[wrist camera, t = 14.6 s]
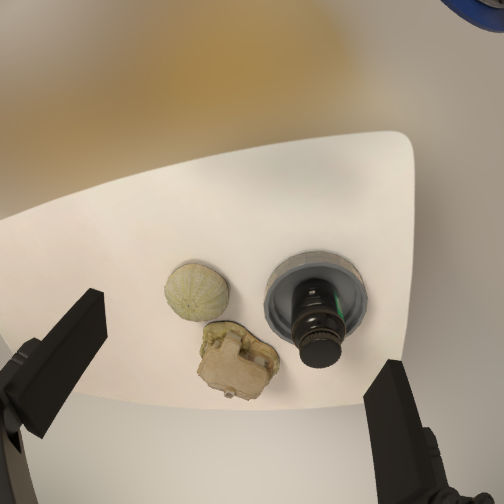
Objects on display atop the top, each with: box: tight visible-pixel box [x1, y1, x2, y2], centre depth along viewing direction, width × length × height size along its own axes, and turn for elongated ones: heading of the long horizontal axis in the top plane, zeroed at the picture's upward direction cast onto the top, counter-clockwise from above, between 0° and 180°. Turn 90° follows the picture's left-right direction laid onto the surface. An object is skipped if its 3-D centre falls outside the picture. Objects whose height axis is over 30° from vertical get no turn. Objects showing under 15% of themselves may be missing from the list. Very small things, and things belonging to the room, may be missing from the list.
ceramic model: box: [197, 322, 279, 401], centre depth 46 cm, size 14×11×10 cm
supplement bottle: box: [291, 278, 346, 368], centre depth 39 cm, size 7×7×12 cm
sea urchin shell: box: [164, 264, 228, 322], centre depth 44 cm, size 9×8×8 cm
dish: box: [264, 252, 367, 345], centre depth 43 cm, size 14×14×4 cm
